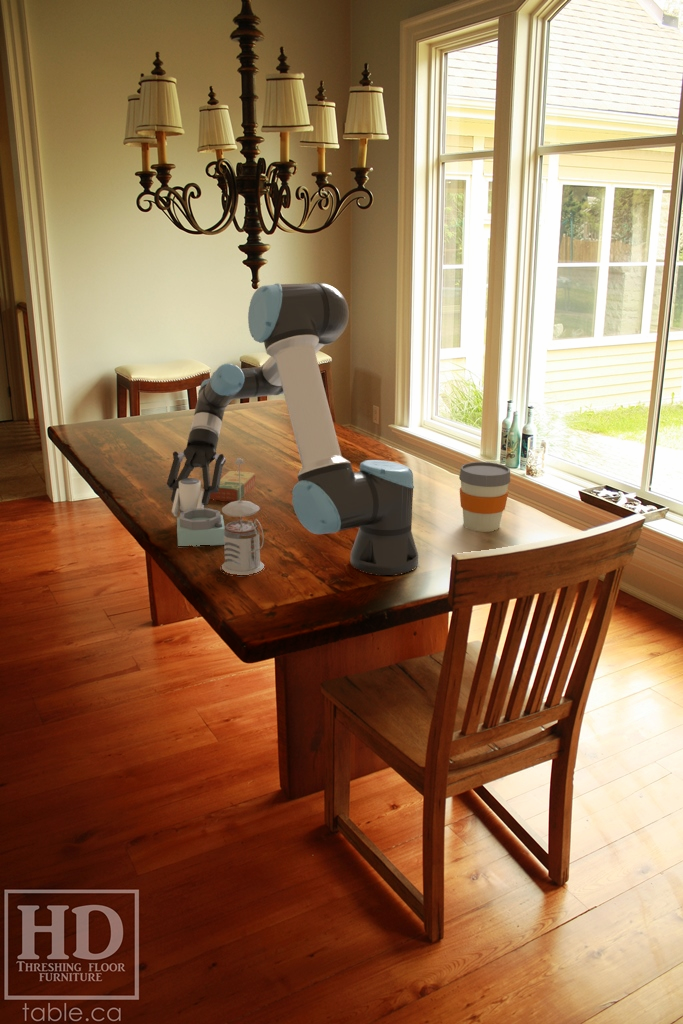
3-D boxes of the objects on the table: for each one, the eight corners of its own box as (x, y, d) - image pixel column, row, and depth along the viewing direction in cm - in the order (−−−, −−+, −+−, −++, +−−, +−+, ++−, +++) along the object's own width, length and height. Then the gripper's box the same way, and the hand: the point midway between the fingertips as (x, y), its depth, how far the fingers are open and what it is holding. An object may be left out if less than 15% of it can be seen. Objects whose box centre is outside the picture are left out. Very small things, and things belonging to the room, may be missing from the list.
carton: (255, 486, 243) (255, 472, 242) (238, 503, 229) (237, 488, 227) (228, 483, 245) (227, 469, 244) (209, 501, 230) (208, 486, 229)
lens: (203, 526, 210) (201, 483, 206) (180, 527, 209) (178, 484, 205) (203, 519, 215) (201, 476, 212) (180, 520, 214) (178, 477, 211)
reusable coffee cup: (486, 514, 221) (490, 459, 216) (516, 529, 210) (521, 472, 205) (446, 521, 215) (449, 465, 210) (475, 537, 205) (479, 478, 200)
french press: (247, 555, 193) (243, 449, 184) (279, 570, 185) (277, 460, 176) (211, 566, 186) (206, 457, 178) (243, 582, 178) (239, 469, 170)
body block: (225, 544, 199) (224, 520, 197) (178, 547, 197) (176, 523, 195) (223, 529, 208) (222, 507, 206) (177, 532, 206) (176, 509, 204)
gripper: (242, 443, 219) (226, 523, 210) (174, 440, 222) (155, 519, 212) (235, 428, 213) (218, 510, 203) (166, 425, 216) (145, 506, 206)
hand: (186, 514), depth 208 cm, fingers closed on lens, 5 cm apart
